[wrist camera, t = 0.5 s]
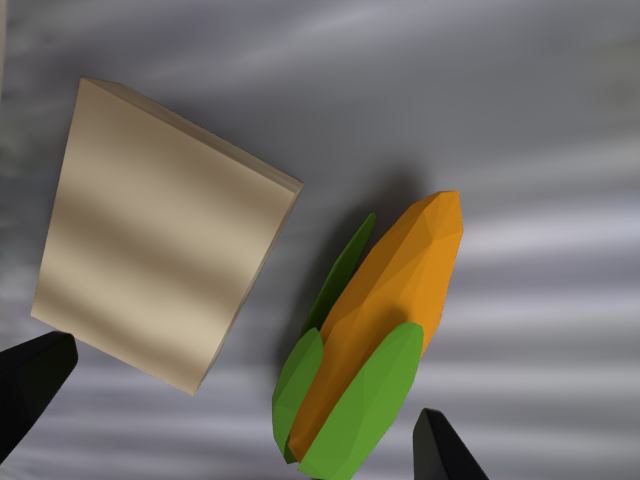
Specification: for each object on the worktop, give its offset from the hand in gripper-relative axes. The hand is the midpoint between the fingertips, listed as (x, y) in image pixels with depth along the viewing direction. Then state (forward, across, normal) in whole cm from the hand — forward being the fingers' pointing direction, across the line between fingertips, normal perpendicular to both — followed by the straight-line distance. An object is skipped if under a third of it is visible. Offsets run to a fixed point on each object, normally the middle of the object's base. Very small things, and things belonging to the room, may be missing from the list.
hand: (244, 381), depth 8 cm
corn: (+13, -4, +6) cm, 15 cm away
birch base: (+13, +9, +4) cm, 16 cm away
